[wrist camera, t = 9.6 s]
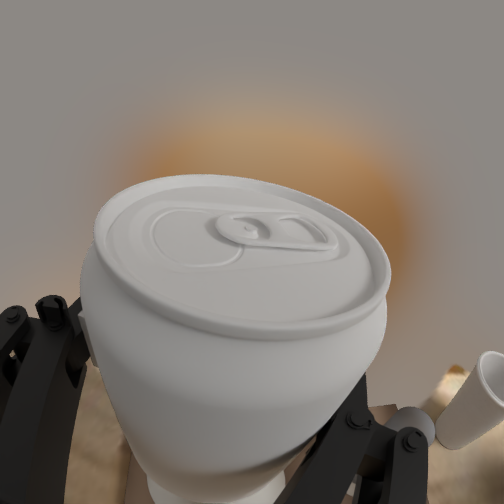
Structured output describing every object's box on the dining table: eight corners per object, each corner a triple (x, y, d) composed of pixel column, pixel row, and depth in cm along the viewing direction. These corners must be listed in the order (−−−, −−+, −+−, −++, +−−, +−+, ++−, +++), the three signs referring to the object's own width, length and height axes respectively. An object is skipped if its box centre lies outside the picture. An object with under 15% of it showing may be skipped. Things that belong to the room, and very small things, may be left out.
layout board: (390, 409, 27) (434, 355, 22) (423, 514, 15) (492, 478, 10) (143, 405, 24) (130, 342, 19) (123, 540, 12) (86, 530, 7)
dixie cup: (455, 397, 28) (499, 343, 23) (483, 441, 21) (536, 391, 16) (415, 416, 26) (466, 359, 21) (445, 470, 19) (509, 421, 14)
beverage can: (126, 379, 15) (103, 166, 9) (258, 369, 18) (314, 180, 12) (142, 512, 8) (19, 367, 2) (307, 484, 11) (470, 311, 5)
